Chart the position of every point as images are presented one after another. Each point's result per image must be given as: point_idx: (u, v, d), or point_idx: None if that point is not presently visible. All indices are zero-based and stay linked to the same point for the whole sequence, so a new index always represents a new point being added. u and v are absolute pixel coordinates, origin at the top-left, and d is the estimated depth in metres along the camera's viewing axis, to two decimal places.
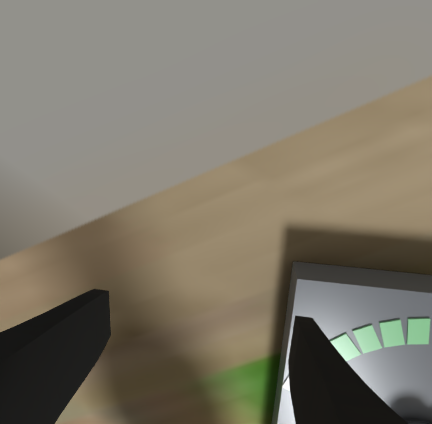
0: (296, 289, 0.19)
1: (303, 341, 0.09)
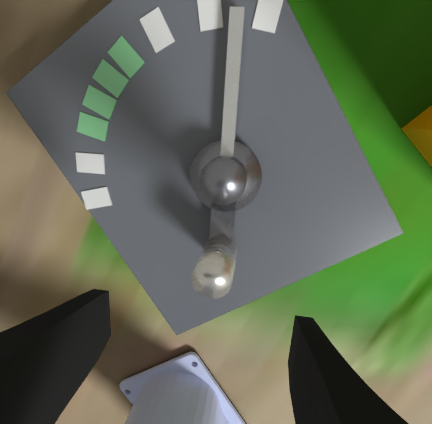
0: (14, 103, 0.18)
1: (303, 341, 0.09)
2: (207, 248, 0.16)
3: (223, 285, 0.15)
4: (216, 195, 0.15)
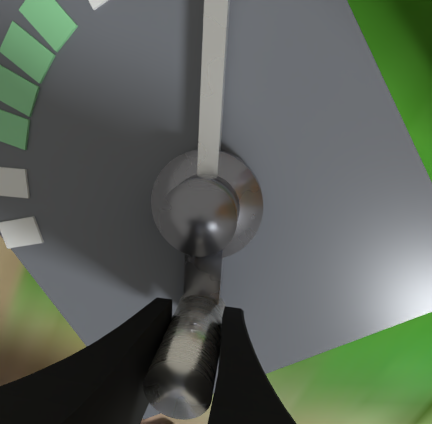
0: None
1: (221, 329, 0.09)
2: (176, 322, 0.10)
3: (197, 400, 0.08)
4: (188, 241, 0.09)
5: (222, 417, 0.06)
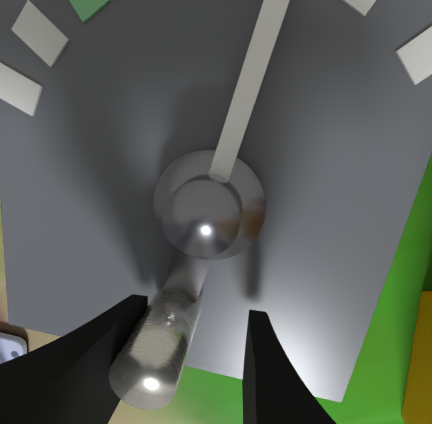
0: None
1: (249, 333, 0.09)
2: (153, 313, 0.10)
3: (159, 394, 0.09)
4: (186, 238, 0.09)
5: None
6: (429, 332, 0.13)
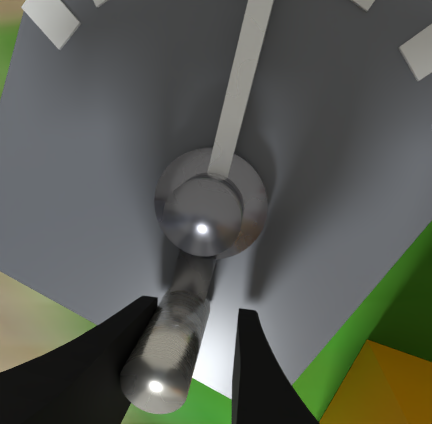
0: None
1: (237, 332, 0.09)
2: (160, 316, 0.10)
3: (172, 397, 0.09)
4: (188, 238, 0.09)
5: (250, 422, 0.06)
6: (361, 377, 0.14)
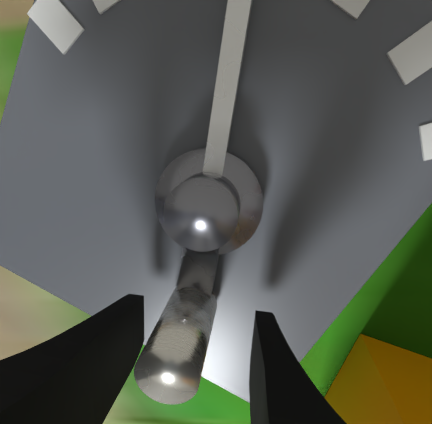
0: None
1: (256, 335, 0.09)
2: (169, 312, 0.11)
3: (185, 387, 0.09)
4: (189, 235, 0.10)
5: None
6: (354, 370, 0.15)
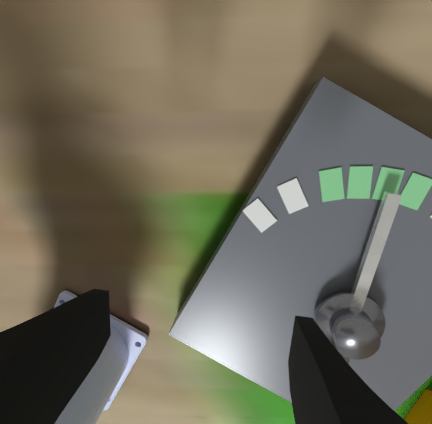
0: (315, 91, 0.16)
1: (303, 341, 0.09)
2: None
3: None
4: (349, 351, 0.17)
5: None
6: (423, 415, 0.22)
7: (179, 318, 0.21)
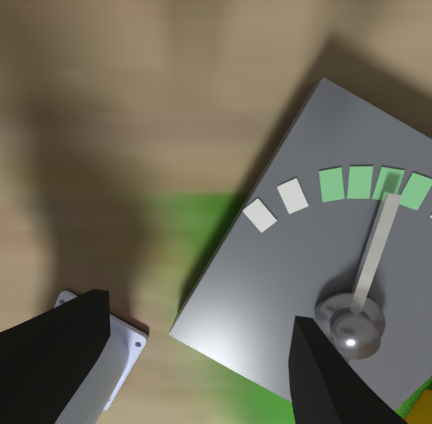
0: (315, 91, 0.16)
1: (303, 341, 0.09)
2: None
3: None
4: (349, 351, 0.17)
5: None
6: (423, 415, 0.22)
7: (179, 318, 0.21)
